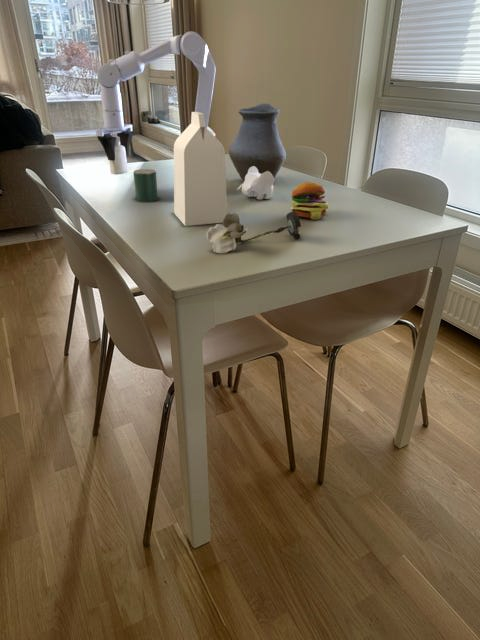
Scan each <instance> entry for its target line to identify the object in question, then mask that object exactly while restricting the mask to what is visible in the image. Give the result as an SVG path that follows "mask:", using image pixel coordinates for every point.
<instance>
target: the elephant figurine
mask: <svg viewBox="0 0 480 640" xmlns="http://www.w3.org/2000/svg"><path fill="white" fill-rule="evenodd" d="M275 182H276V178H275V179H274V177H273V175H272V174H271V173H270V172H269V171H266V172H264V173H262V174H260V173H259V172H258V169H257V168H256V167H255V166H252V167H250V168H249V170H248V173H247V174H246V176H245V181H243V183H241V184H240V186H238V188H237V189H236V191H239V190H240V189H241V193H242V195H244V196H247V197H248V198H256V200H259V201H262V200H264V199H265V200H270V199H271V197H272V195H273V192H274V183H275Z"/></svg>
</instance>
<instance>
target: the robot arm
mask: <svg viewBox="0 0 480 640" xmlns="http://www.w3.org/2000/svg"><path fill="white" fill-rule="evenodd" d="M180 51H181V52H180ZM181 53H182V54H183V55H184V57H186V58H187V59H188V60H189V61H191V62H192V63H193V66H194V67H195V68H196V69H197V71H198V81H197V90H196V97H195V98H196V99H195V107H194V112H199V113H202V114H204V120H205V127H206V128H207V127H209V123H210V115H211V107H212V106H211V105H212V100H213V91H214V84H215V78H216V64H215V62H214V59H213V57H212V54H211V52H210V50H209V47H208V45H207V43H206V41H205V40H204V39H203V38H202V37H201V35H200V34H199V33H197V32H196V31H187V32H185V33H184V34H183V35H182V34H178V35H174V36H171V37H169V38H167V39H165V40H162V41H160V42H159V43H157V44H155V45H153V46H151V47H149V48H148V49H146V50H144V51H142V52H140V53H139V52H137V51H135V50H132V51H130V50H126V51H124V55H121V56H119V57H117V58H116V59H114V58H111V59H109V63H103V64H101V66H99V67H98V69H97V72H96V76H97V80H98V82H99V83H100V88H99V89H100V99H101V107H102V108H101V109H102V115H103V124H104V125H102V127H98V128H95V135H96V138H97V140H98V141H99V143H100V144H101V146H102V149H103V150H104V152H105V155H106V158H107V160H108V161H109V160H112V161H114V160H115V141H116V137H113V136H112V135H114V134H117V136H118V137H120V145H122V146H124V147H125V150H126V158H128V155H129V148H130V145H131V144H130V143H131V141H132V138H133V136H134V135H133V124H128V123H125V121H124V120H125V119H124V110H123V102H122V101H123V100H122V93H121V88H120V83H121V82H126V81H128V80H130V79H132V78H134V77H135V76H138V75H140V74H142V73H143V72H144V70H145V67H146V65H148V64H151V63H153V62H155V61H158V60H159V59H161V58H164V57H166V56H169V55H178V56H180V55H181Z"/></svg>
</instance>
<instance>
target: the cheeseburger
mask: <svg viewBox="0 0 480 640" xmlns="http://www.w3.org/2000/svg"><path fill="white" fill-rule="evenodd" d="M325 193H326V190H325V188H324V185H322V184H320V183H317V182H314V181H309V182H303V183H300V184H299V185H298V186H297V187H296V188H295V189H293V190H292V193H291V198H292V200H293V201H292V203H291V207H290V208H291V209H290V210H291V212H292V211H294V212H296V214H297V215H298V217H299V218H300V217H301V218H306V219H310V220H314V221H317V220H320V219H321V218H322V217H324V216H325V215H326V214H327V210H329V203H328V202H327V200H325V197H326V195H324V194H325Z"/></svg>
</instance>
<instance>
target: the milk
mask: <svg viewBox="0 0 480 640" xmlns="http://www.w3.org/2000/svg"><path fill="white" fill-rule="evenodd" d="M190 115H191V117H190V124H189V125H187V127H186V128H185V129H184V130H183V131H182V132H181V134H180V135H179V136H178V137H177V138H176V140H175V141H174V144H173V207H174V208H173V212H174V213H173V214H174V215H175V216H176V217H177V218H178V220H179V221H180V222H181V223H182V224H183V225H184V226H185V227H189V226H191V227H192V226H201V225H210V224H223V220H224V218H225V215H226V214H228V202H227V201H228V200H227V180H226V179H227V173H226V171H227V170H226V151H225V147H224V145H223V144H222V142H221V141H220V140H219V139H218V138H217V137H216V136H217V134H216V133H215V132H214V130H213V129H212V128H211V127H210V126H208V127H207V128H206V127H205V120H204V114H202V113H199V112H195V111H191V114H190Z"/></svg>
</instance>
